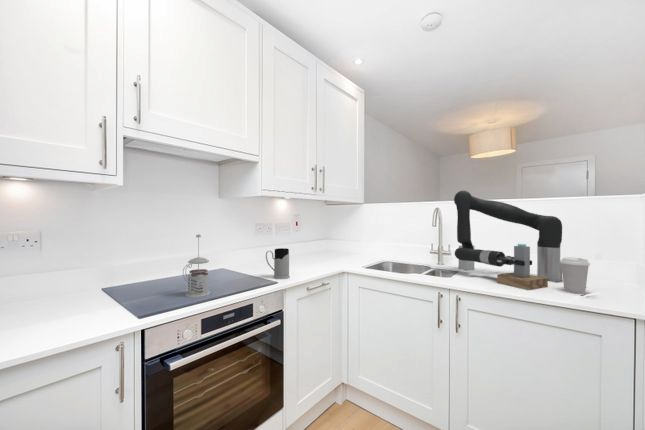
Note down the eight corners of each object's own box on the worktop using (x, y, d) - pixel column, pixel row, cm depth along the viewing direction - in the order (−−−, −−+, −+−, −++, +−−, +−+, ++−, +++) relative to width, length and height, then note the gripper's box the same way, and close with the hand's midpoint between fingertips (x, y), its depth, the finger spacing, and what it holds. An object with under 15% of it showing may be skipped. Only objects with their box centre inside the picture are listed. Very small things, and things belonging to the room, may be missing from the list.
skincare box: (465, 267, 176) (465, 244, 176) (475, 269, 171) (475, 245, 171) (457, 269, 171) (458, 245, 171) (467, 270, 166) (467, 246, 166)
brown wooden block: (515, 282, 138) (515, 272, 138) (547, 289, 125) (547, 278, 125) (497, 284, 132) (497, 274, 132) (528, 292, 120) (528, 280, 120)
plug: (519, 283, 132) (519, 243, 132) (529, 285, 128) (529, 244, 128) (513, 284, 130) (514, 243, 130) (523, 286, 126) (524, 244, 126)
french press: (202, 298, 110) (202, 235, 110) (176, 296, 112) (176, 235, 112) (215, 291, 120) (215, 233, 119) (191, 289, 122) (191, 233, 121)
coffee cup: (582, 298, 112) (582, 261, 112) (555, 291, 121) (555, 257, 121) (594, 295, 116) (595, 259, 116) (567, 289, 124) (567, 256, 124)
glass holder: (284, 279, 141) (284, 250, 141) (261, 277, 146) (261, 249, 146) (292, 276, 149) (292, 248, 149) (270, 274, 154) (270, 247, 154)
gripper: (482, 251, 139) (518, 256, 123) (501, 249, 145) (537, 254, 129) (482, 266, 139) (518, 272, 123) (501, 264, 145) (537, 270, 129)
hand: (528, 263), depth 126 cm, fingers open, 4 cm apart
